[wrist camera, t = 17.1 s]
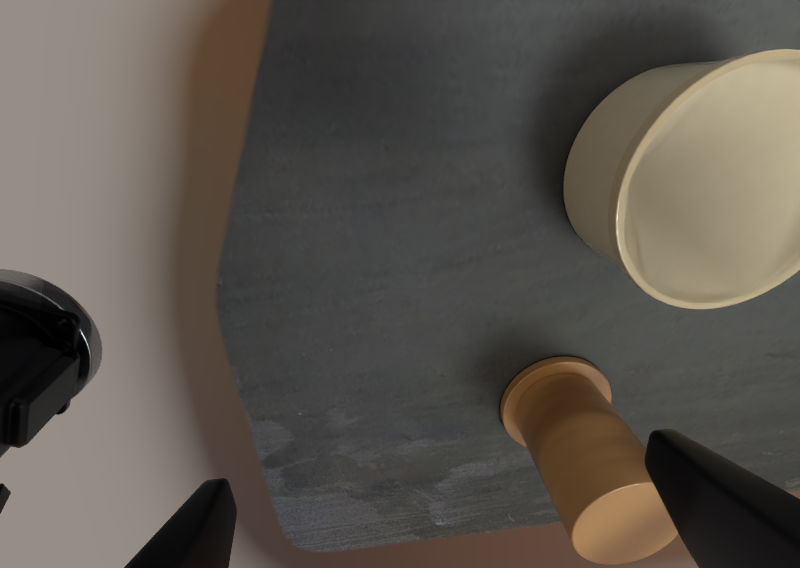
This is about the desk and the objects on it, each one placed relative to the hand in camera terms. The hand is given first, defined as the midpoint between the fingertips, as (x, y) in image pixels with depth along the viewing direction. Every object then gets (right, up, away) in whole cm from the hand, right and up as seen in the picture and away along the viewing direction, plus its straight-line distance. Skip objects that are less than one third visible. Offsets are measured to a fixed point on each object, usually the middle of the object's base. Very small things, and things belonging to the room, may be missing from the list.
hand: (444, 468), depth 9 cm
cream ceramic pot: (+11, +9, +11) cm, 18 cm away
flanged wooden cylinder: (+8, -3, +16) cm, 19 cm away
